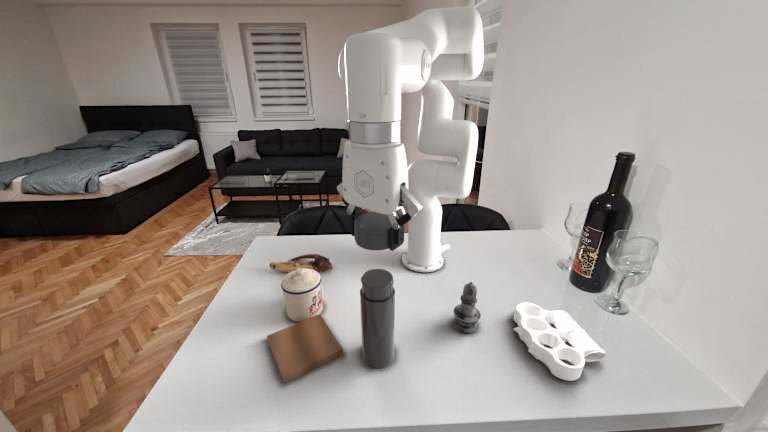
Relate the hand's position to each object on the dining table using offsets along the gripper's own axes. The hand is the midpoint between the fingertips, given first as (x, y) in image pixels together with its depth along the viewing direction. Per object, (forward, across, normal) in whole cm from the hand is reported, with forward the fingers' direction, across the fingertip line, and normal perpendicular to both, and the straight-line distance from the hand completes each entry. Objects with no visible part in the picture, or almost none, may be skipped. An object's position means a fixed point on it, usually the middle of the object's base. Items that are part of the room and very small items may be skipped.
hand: (376, 239), depth 51 cm
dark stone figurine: (+27, +11, +18) cm, 34 cm away
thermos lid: (0, 0, 0) cm, 0 cm away
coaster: (+27, -13, -8) cm, 31 cm away
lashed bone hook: (+27, -37, +11) cm, 47 cm away
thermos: (+27, 0, 0) cm, 27 cm away
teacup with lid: (+27, -23, 0) cm, 35 cm away
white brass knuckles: (+27, +28, +24) cm, 45 cm away
